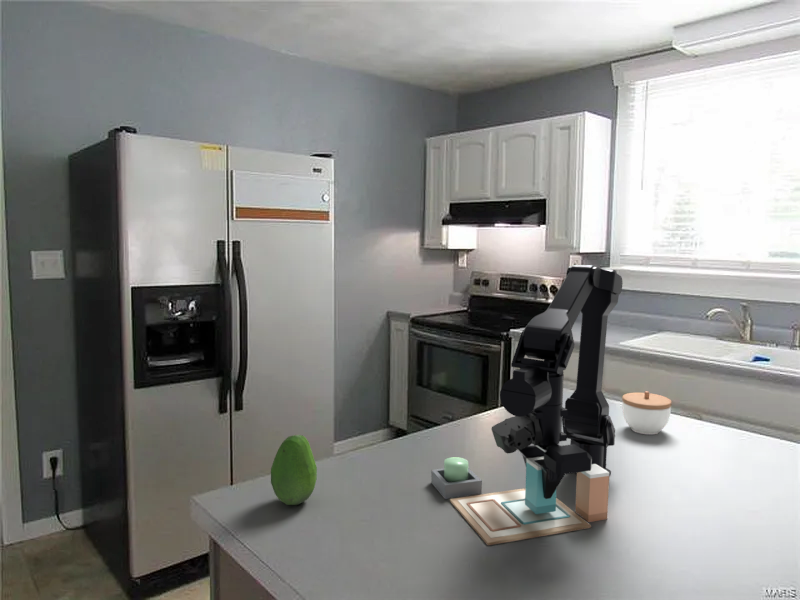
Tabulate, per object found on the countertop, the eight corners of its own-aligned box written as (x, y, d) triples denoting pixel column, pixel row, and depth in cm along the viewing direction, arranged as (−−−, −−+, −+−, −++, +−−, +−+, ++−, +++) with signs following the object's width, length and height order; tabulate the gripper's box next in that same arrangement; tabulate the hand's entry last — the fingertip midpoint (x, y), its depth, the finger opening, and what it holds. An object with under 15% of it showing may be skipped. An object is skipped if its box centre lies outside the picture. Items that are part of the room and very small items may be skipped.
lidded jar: (678, 438, 132) (680, 398, 131) (630, 438, 132) (632, 398, 131) (657, 423, 143) (660, 385, 142) (614, 422, 143) (616, 385, 142)
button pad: (465, 477, 111) (466, 465, 110) (481, 493, 104) (481, 480, 104) (431, 482, 109) (431, 469, 108) (445, 498, 102) (445, 485, 102)
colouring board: (541, 488, 106) (541, 484, 106) (590, 527, 92) (591, 523, 92) (449, 501, 101) (449, 497, 101) (487, 545, 87) (487, 541, 87)
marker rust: (593, 509, 98) (595, 463, 98) (607, 519, 95) (609, 472, 94) (575, 512, 97) (577, 466, 96) (588, 522, 94) (590, 474, 93)
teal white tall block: (543, 501, 98) (545, 456, 97) (555, 511, 95) (557, 464, 94) (524, 504, 97) (526, 458, 96) (536, 514, 94) (537, 466, 93)
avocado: (325, 496, 103) (324, 430, 102) (303, 516, 96) (302, 446, 94) (285, 489, 106) (284, 425, 104) (261, 508, 98) (259, 440, 97)
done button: (462, 471, 109) (462, 456, 108) (472, 481, 105) (472, 465, 104) (440, 474, 108) (440, 458, 107) (449, 484, 103) (449, 467, 103)
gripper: (474, 389, 100) (472, 476, 102) (529, 423, 83) (526, 527, 85) (531, 385, 104) (528, 469, 106) (596, 416, 86) (591, 516, 88)
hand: (541, 493), depth 96 cm, fingers closed on teal white tall block, 4 cm apart
